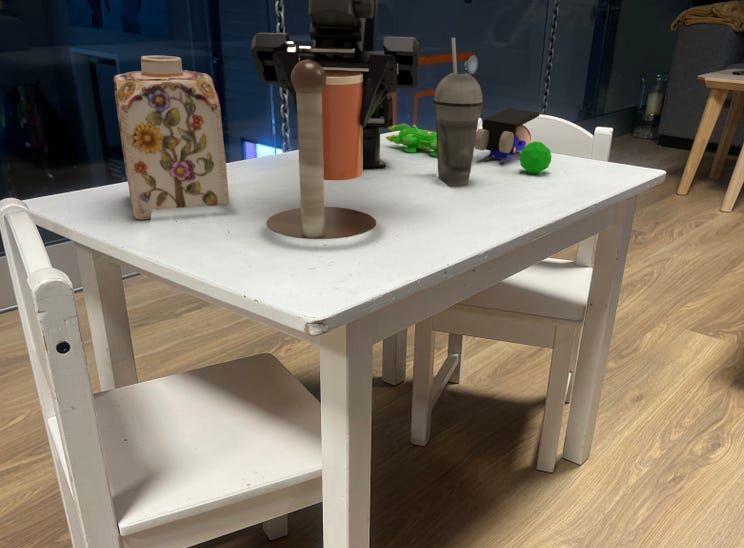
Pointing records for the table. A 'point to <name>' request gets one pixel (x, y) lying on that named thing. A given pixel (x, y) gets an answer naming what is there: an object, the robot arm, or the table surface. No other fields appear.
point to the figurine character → (504, 133)
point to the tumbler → (342, 125)
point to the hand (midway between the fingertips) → (331, 123)
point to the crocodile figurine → (414, 138)
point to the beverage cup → (456, 124)
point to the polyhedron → (535, 157)
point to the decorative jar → (170, 137)
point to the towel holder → (314, 169)
